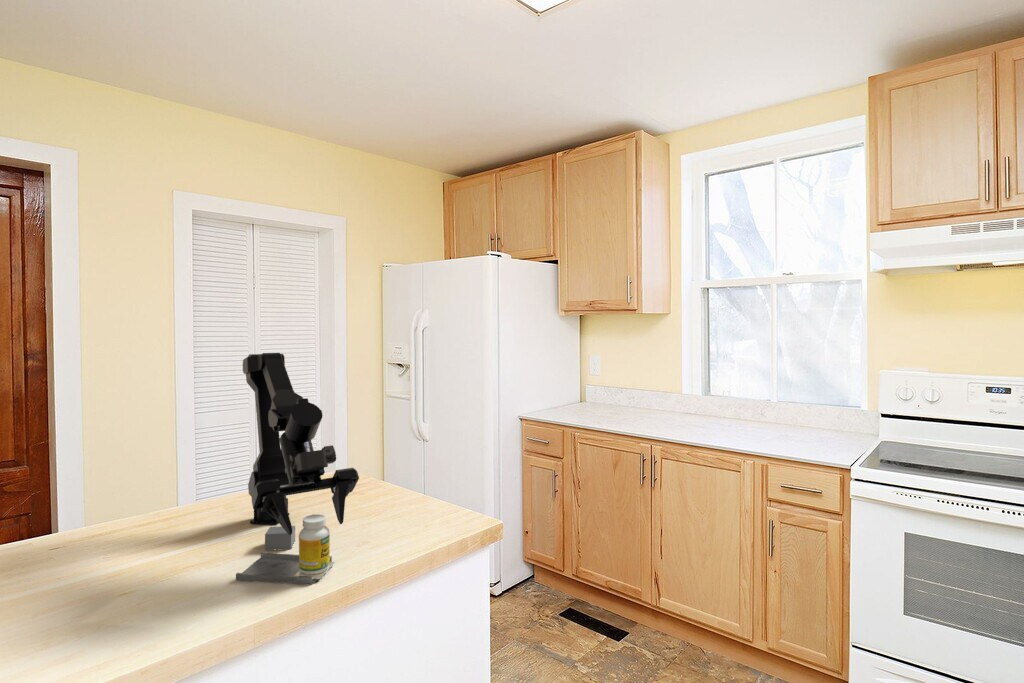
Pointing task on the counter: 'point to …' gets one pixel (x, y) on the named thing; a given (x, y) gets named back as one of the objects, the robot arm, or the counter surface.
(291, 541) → the block
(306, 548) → the supplement bottle
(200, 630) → the counter surface
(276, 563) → the grey flat tray
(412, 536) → the counter surface
